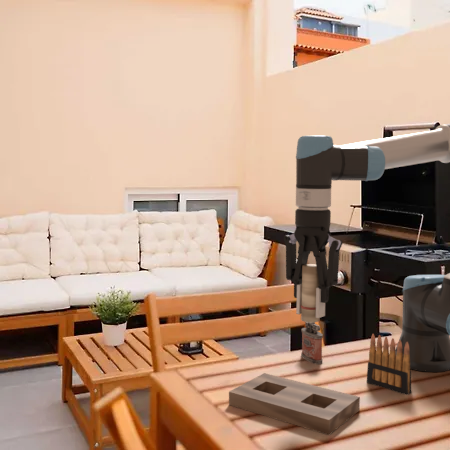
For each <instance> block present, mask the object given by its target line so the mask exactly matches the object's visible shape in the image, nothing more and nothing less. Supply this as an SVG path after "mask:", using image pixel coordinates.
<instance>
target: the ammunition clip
mask: <svg viewBox="0 0 450 450" xmlns="http://www.w3.org/2000/svg"><path fill="white" fill-rule="evenodd" d="M381 336H382V335H380V334H379V335H378V336H377V341H376V336H375V334H374V333H372V334H371V338H370V344H369V345H370V346H369V352H368V362H367V371H366V372H367V373H366V383H367V384H370V385H373V386H376V387H379V388H384V389H386V390H390V391H393V392H395V393H399V394H403V395H406V396H407V395H409V394H412V371H411V369H410V354H409V344H408V342H406V344H405V348H404V357H403V355H402V343H401V340H399V339H398V341H399V342H397V344H398V346H397V345H396V341H395V338H391V341H390V343H389V339H388V336H385V337H384V340H383V341H382V337H381ZM389 344H390V346H389ZM396 347H397V355H396V354H395V349H396Z"/></svg>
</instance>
